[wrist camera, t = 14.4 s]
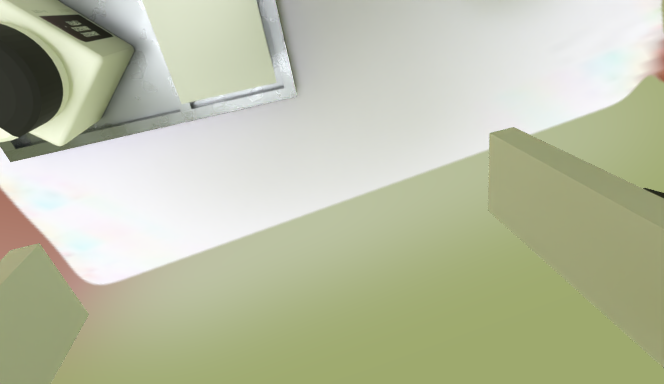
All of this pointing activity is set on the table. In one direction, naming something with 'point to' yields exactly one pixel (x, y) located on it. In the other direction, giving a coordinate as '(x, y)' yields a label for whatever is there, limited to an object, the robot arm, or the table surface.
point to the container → (55, 70)
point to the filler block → (211, 46)
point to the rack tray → (157, 80)
